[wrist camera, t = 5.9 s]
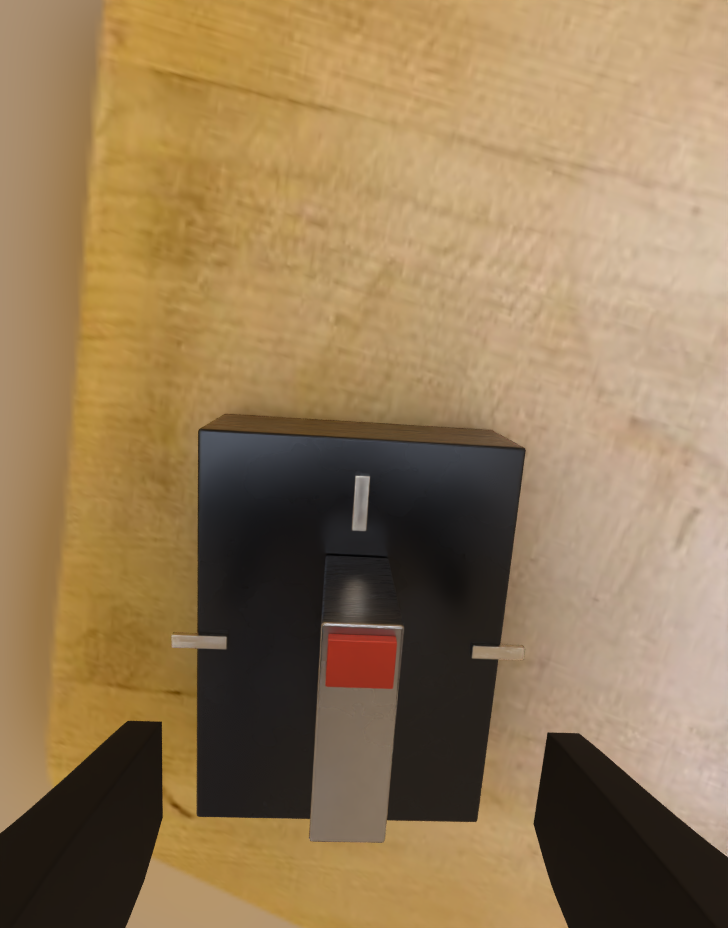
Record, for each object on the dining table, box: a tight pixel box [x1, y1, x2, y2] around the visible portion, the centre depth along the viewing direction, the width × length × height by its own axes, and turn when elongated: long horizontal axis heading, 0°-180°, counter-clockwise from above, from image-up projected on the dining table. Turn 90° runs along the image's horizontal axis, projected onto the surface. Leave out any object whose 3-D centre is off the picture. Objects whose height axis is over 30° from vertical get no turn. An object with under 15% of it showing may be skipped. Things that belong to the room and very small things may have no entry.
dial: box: [309, 556, 404, 843], centre depth 13 cm, size 5×2×4 cm, turn 176°
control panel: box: [171, 414, 526, 822], centre depth 16 cm, size 9×11×3 cm
